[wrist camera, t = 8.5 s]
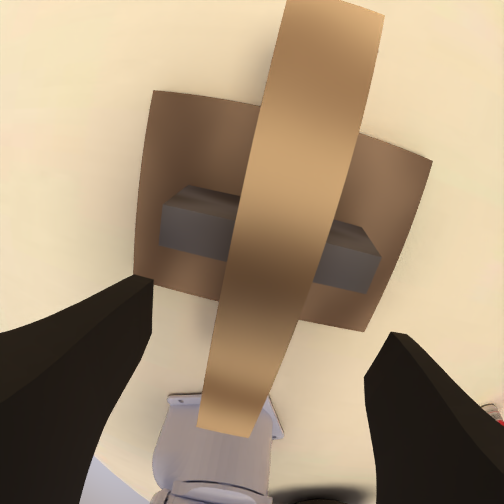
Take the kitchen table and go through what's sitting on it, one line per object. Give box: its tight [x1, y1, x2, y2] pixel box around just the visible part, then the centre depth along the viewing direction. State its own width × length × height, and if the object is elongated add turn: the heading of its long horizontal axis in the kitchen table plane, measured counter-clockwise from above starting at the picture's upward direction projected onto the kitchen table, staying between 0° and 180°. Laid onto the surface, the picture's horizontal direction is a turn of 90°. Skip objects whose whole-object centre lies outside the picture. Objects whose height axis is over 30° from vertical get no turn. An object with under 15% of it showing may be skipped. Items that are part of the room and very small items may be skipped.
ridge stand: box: [133, 90, 433, 332], centre depth 16 cm, size 16×12×5 cm
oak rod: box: [196, 0, 385, 438], centre depth 12 cm, size 20×3×3 cm, turn 168°
